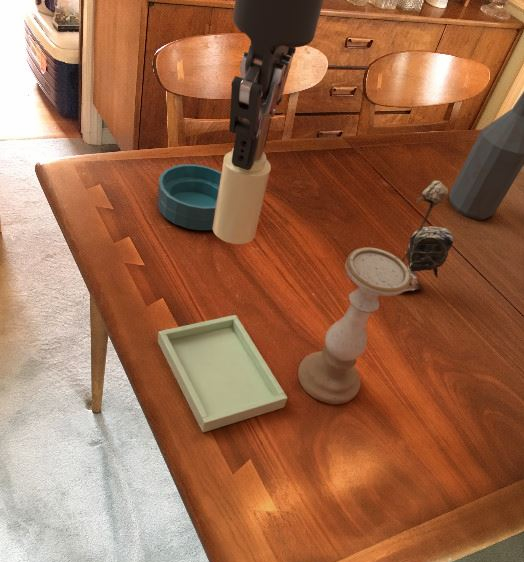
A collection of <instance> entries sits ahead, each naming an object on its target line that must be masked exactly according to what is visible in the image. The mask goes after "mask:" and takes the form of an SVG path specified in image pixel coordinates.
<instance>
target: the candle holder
mask: <svg viewBox="0 0 524 562" xmlns="http://www.w3.org/2000/svg"><path fill="white" fill-rule="evenodd" d="M406 265H407V264H406ZM406 265H405V262H404V261H403V262H402V259H400V258H399V257H397V256H396V255H395V254H393V253H391V252H389V251H387V250H384V249H381V248H376V247H367V246H366V247H359V248H356V249H354V250H352V251H351V252H350V253H349V254H348V255H347V256H346V260H345V263H344V269H345V273H346V275H347V276H348V277H349V279H350V280H351V281H352V282H353V283H354V284H355V285H357V288H356V289H353V290H352V291H350V293H349V294H348V302H349V305H348V308H347V310H346V312H345V313H344V315H343V316H342V317H340V319H338V320H337V321H336V322H334V323H332V324H331V326H330V327H329V328H328V329H327V331H326V332H325V336H324V345H323V347H322V349H321V351H314V352H312V353H311V352H310V353H309V354H307V355H306V356H305V357H304V358H303V359H302V360H301V362H300V364H299V366H298V372H297V374H298V375H297V376H298V377H297V378H298V380H299V383H300V385H301V387H302V388H303V390H304V391H305V392H306V393H307V395H309V396H311V397H312V398H314V399H315V400H317V401H319V402H321V403H325V404H329V405H341V404H346V403H348V402H350V401H352V400H353V399H354V398H355V397H356V396H357V394H358V392H359V391H360V388H361V376H360V374H359V372H358V370H357V368H356V367H355V366H356V364H357V359H358V358H360V357H361V356H362V355H363V354H364V353H365V351H366V350H367V346H368V332H367V325H368V321H369V320H370V317H371V314H372V313H375V312H377V311H378V310H379V309H380V305H381V303H380V300H379V298H380V296H384V297H394V296H399V295H400V294H403V293H405V292H406V291H405V290H406V289H407V288H408V286H409V284H410V272H409V270H408V268H407V266H408V265H407V266H406Z"/></svg>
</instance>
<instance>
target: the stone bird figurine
mask: <svg viewBox="0 0 524 562" xmlns="http://www.w3.org/2000/svg"><path fill="white" fill-rule="evenodd" d="M448 193H449V188H448V187H447V186H446V185H444V184H443V182H442V181H440V180H438V179H434V180H433V181H431V183H430V184H429V185H428V186H427V187H425V188H424V189H423V191H422V192H421V197H418V199H416V200H415V203H420V202H421V201H423V202H426V203H429V204H430V205H429V207H428V209H427V211H426V213H425V216H424V219H423V220H422V223H421V224H420V227H419V228H418V229H417V230H415V231H414V232H413V234H412V236H410V237H409V241H408V245H407V250H405V253H404V256H403V258H402V259H401V261H402V262H403V263H404V261H405V260H407V262H408V263H407V264H405V263H404V264H405V265H406V266H407V268H408V270H409V272H410V284H409V286H408V288H407V289H406V290H405V291H404V292H408V291H415V290H421V287H420V286H419V282H418V277H417V274H416V272H422V271H432V272H433V274H434V276H435V278H436V279H438V278H439V273H438V272H439V271H438V268H440V267H442V266H443V265H444V263H445V262H446V261H447V259H448V256H449V251H450V250H451V248H452V246H453V244H454V240H456V239H457V237H454V236H453V234H452V232H451V231H450V230H449V229H448V228H447V227H440V226H431V225H430V226H425V224H426V222H427V220H428V217H429V216H430V214H431V212H432V211H433V208H434V206H437V205H439V204H440V203H442V201H444V199H445V198H446V196H447V195H448Z"/></svg>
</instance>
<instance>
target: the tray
mask: <svg viewBox="0 0 524 562" xmlns="http://www.w3.org/2000/svg"><path fill="white" fill-rule="evenodd" d="M157 343H158V345H159V347H160V350H161V351H162V354H163V355H164V357H165V359H166V362H167V364H168V365H169V367H170V370H171V372H172V374H173V375H174V378H175V380H176V382H177V384H178V386H179V387H180V390H181V392H182V394H183V396H184V398H185V400H186V402H187V404H188V406H189V408H190V410H191V413H192V414H193V416H194V419H195V420H196V422H197V424H198V427H199V428H200V430H201V432H202V433H206V432H209V431H213V430H216V429H218V428H222V427H225V426H228V425H232V424H235V423H238V422H241V421H244V420H247V419H251V418H255V417H257V416H260V415H264V414H267V413H270V412H275V411H276V410H277V411H278V410H280V409H283V408H284V407H285V406H286V403H287V400H288V396H287V394H286V393H285V391H284V389H283V388H282V386H281V385H280V384H279V383H280V382H279V381H278V380H277V378H276V377H275V375H274V374H273V372H272V370H271V369H270V367H269V365H268V364H267V362H266V361H265V359H264V357H263V356H262V354H261V352H260V351H259V349H258V348H257V346H256V345H255V343H254V340H252V338H251V336H250V335H249V333H248V332H247V330H246V329H245V326H244V325H243V324H242V322H241V321H240V318H239V317H238V316H237V314H233V315H227V316H223V317H219V318H214V319H209V320H204V321H200V322H196V323H191V324H187V325H181V326H178V327H173V328H167V329H163V330H159V331H158V335H157Z"/></svg>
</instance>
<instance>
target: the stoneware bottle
mask: <svg viewBox="0 0 524 562" xmlns="http://www.w3.org/2000/svg"><path fill="white" fill-rule="evenodd" d="M270 118H271V119H272V117H271V115H270V113H268V114H266V115H265V117H264V121H263V125H262V129H261V130H262V132H261V135H259V140H258V145H257V150H256V155H255V159H254V164H253V166H252V168H251V169H250V170H245V169H242V168H239V167H236V166H234V165H233V164H232V155H233V149H234V147H232V149H231V151H229V152H226V153H225V154H224V156H223V158H222V159H223V160H222V165H221V170H220V172H221V177H220V183H219V190H218V196H217V202H216V208H215V214H214V220H213V227H212V228H213V230H212V231H213V234H214V235H215V236H216V237H217V238H218V239H220V240H221V241H223V242H225V243H228V244H233V245H245V244H249V243H250V242H252V241H253V240H254V239H255V238H256V234H257V230H258V226H259V222H260V218H261V212H262V208H263V204H264V200H265V196H266V191H267V187H268V183H269V179H270V174H271V170H272V165H271V163H270V161H269V160H268V159H267V155H266V153H265V152H264V151H265V148H264V146H265V141H266V136H267V132H268V127H269V123H270ZM244 120H246V121H249V120H247V119H244ZM249 122H250V121H249ZM270 124H271V123H270ZM268 133H269V132H268ZM266 142H267V141H266ZM265 147H266V146H265Z"/></svg>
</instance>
